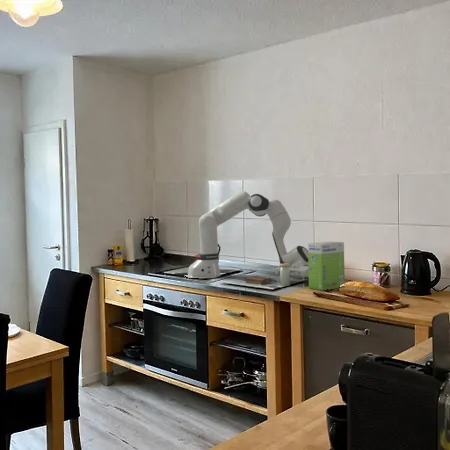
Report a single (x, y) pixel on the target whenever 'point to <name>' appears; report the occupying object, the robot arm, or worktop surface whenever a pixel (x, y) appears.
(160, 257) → the worktop surface
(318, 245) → the toothbrush box
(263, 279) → the walnut base
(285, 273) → the spice jar
